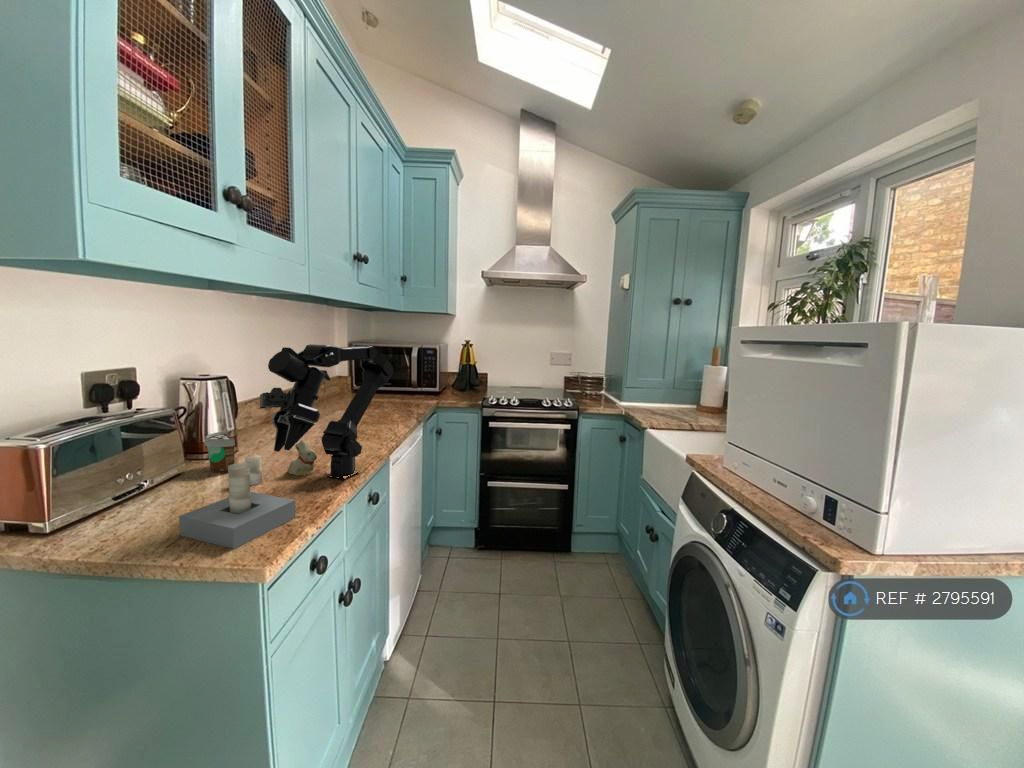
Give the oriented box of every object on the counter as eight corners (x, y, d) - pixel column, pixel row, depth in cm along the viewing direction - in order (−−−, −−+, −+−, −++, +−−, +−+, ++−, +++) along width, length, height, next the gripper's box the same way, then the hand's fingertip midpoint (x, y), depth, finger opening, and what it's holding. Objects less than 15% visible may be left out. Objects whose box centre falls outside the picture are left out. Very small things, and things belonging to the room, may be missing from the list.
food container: (202, 466, 116) (200, 433, 115) (227, 462, 120) (226, 430, 119) (208, 477, 107) (207, 442, 106) (235, 473, 112) (234, 438, 111)
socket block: (246, 507, 90) (246, 490, 90) (295, 517, 86) (295, 500, 86) (180, 535, 77) (179, 516, 76) (234, 548, 73) (233, 528, 72)
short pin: (254, 479, 107) (254, 454, 106) (265, 481, 106) (264, 456, 105) (242, 484, 104) (241, 458, 103) (253, 486, 103) (252, 460, 102)
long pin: (235, 522, 83) (232, 463, 81) (254, 521, 84) (252, 462, 82) (227, 530, 79) (224, 468, 78) (247, 529, 80) (245, 467, 79)
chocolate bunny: (300, 478, 110) (299, 443, 109) (284, 472, 114) (283, 438, 113) (318, 473, 114) (318, 439, 113) (303, 467, 118) (302, 435, 117)
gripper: (262, 383, 100) (235, 442, 94) (281, 370, 87) (251, 438, 81) (306, 399, 107) (284, 455, 101) (330, 389, 93) (306, 453, 88)
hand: (281, 450), depth 93 cm, fingers open, 9 cm apart
